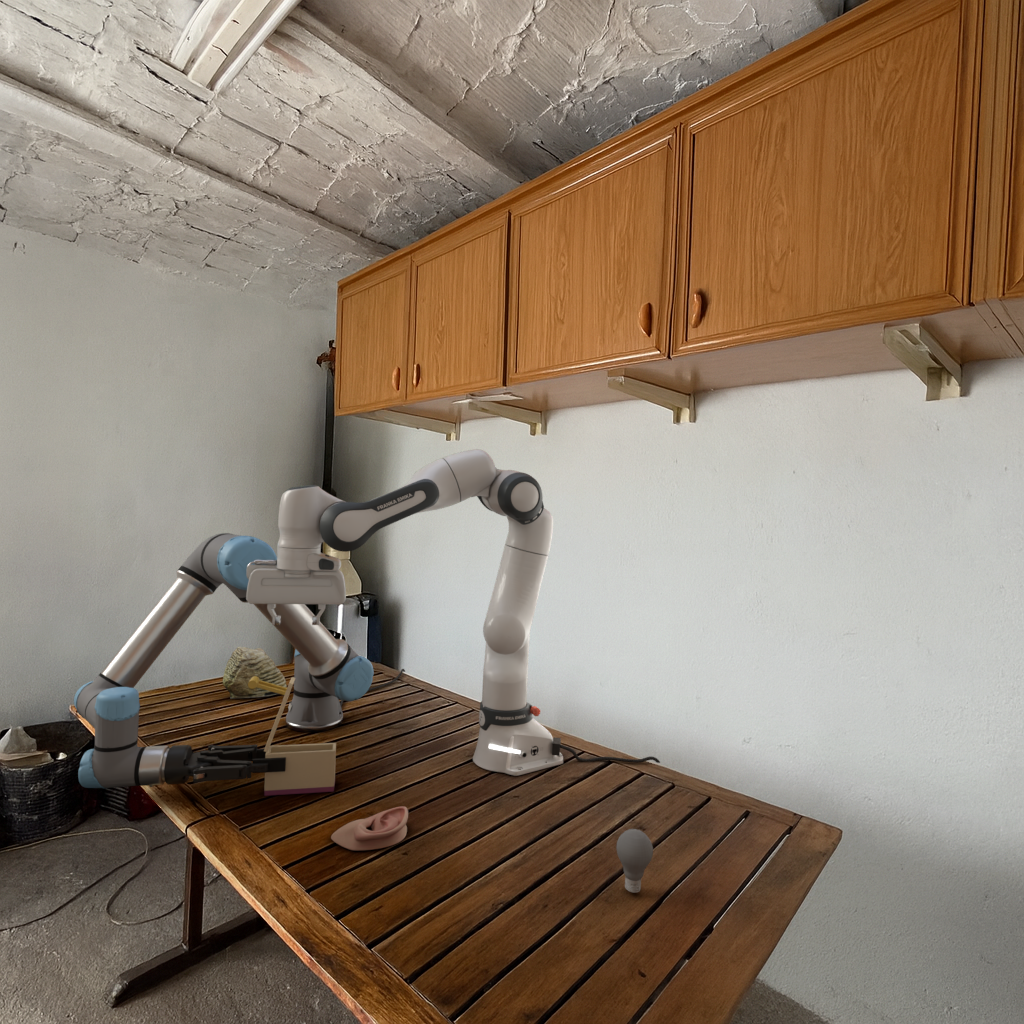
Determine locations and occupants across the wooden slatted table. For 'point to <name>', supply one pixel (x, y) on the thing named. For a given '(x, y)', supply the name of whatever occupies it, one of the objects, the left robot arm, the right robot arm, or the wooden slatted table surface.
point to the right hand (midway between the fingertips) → (296, 624)
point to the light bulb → (634, 857)
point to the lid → (277, 689)
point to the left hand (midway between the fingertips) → (286, 759)
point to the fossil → (250, 673)
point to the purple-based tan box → (302, 769)
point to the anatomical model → (374, 830)
